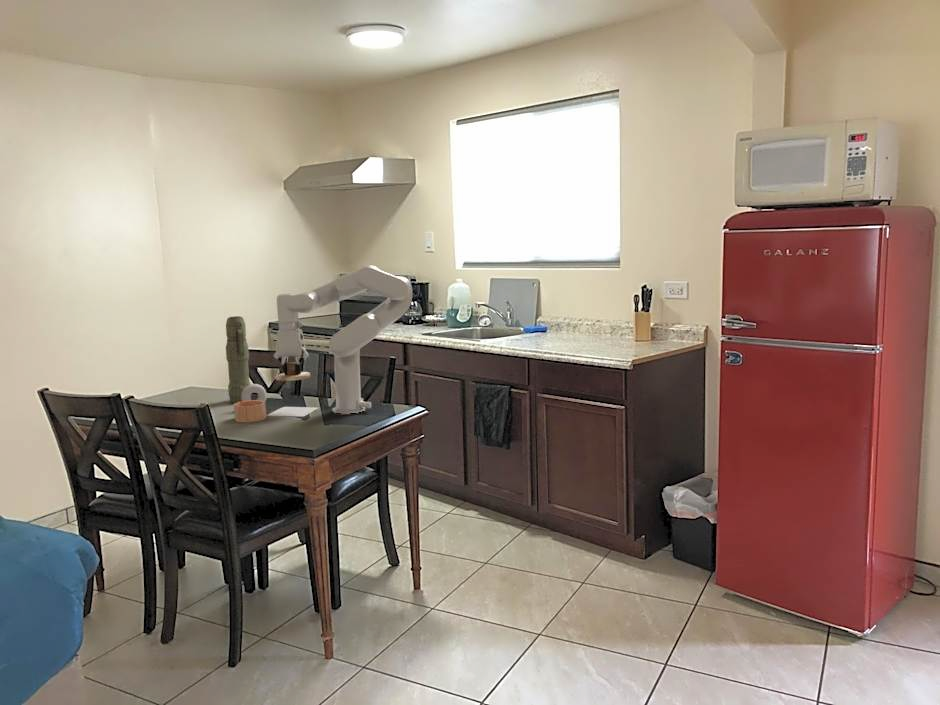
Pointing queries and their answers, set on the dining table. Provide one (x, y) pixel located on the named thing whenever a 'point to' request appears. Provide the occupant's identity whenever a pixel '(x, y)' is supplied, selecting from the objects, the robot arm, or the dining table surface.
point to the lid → (292, 374)
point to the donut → (254, 388)
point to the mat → (293, 411)
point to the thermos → (237, 357)
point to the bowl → (250, 411)
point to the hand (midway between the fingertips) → (292, 373)
